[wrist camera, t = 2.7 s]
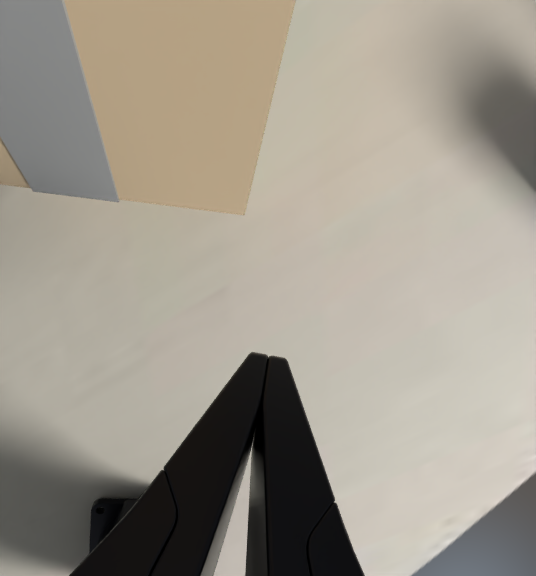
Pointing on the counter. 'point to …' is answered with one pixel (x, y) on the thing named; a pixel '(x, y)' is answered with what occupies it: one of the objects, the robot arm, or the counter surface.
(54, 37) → the carton lid
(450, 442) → the counter surface
